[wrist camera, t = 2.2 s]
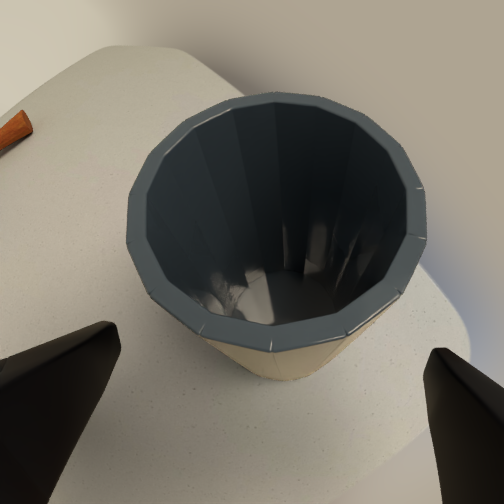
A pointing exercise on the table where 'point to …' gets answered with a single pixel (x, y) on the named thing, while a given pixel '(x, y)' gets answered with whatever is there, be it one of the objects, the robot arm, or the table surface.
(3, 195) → the table surface
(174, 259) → the cup
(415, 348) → the table surface
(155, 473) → the table surface
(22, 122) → the kendama
